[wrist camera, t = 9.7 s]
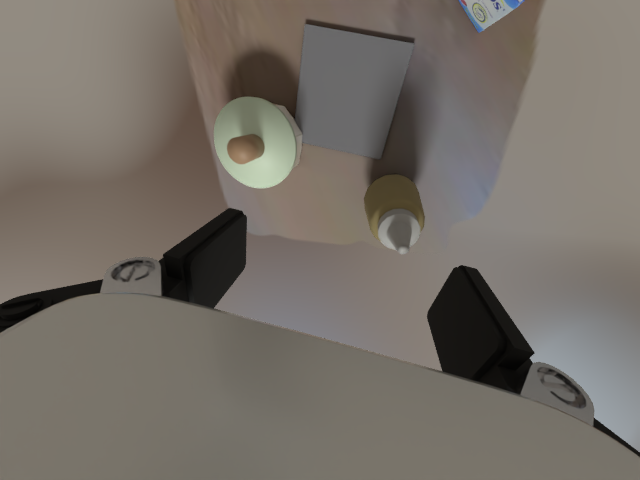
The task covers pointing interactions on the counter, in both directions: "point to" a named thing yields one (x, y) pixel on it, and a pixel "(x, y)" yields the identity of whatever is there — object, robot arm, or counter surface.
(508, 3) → the medicine box
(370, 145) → the mat
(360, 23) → the counter surface
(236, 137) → the lid
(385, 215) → the squeeze bottle
